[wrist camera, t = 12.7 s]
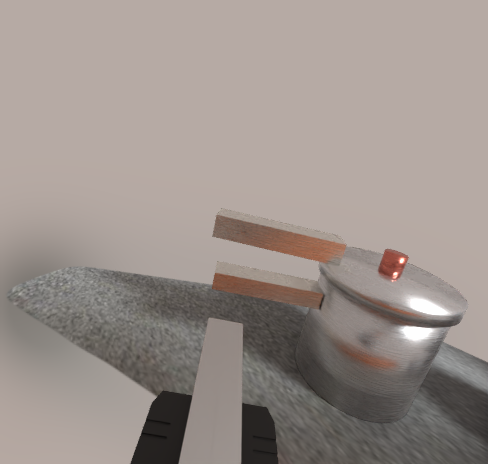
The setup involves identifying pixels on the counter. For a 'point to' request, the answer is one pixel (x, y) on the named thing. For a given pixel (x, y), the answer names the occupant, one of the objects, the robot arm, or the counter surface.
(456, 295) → the lid
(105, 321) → the counter surface
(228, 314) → the counter surface
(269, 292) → the cooker pot
